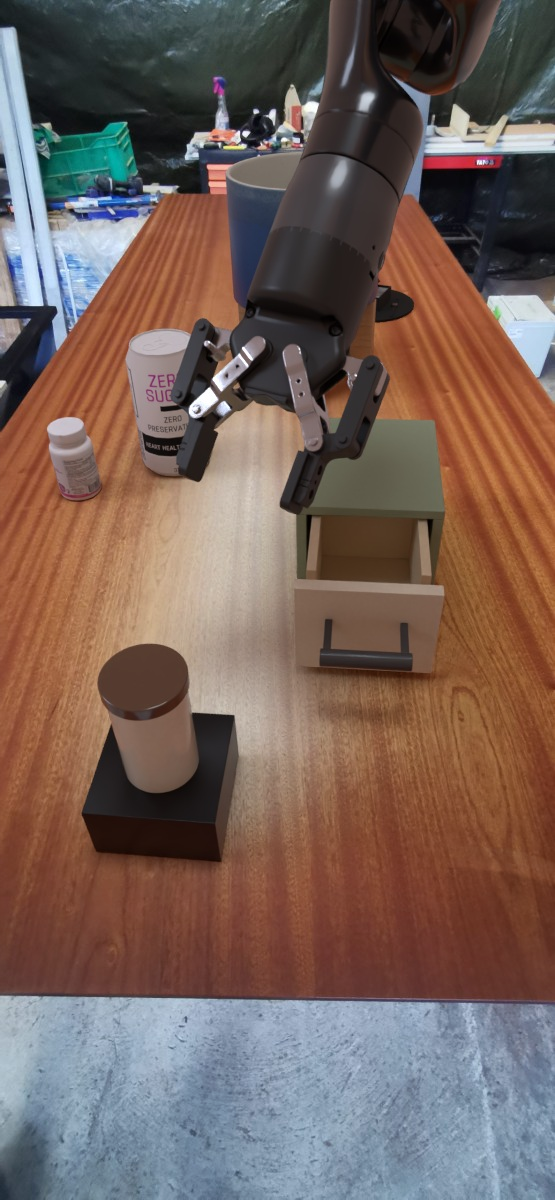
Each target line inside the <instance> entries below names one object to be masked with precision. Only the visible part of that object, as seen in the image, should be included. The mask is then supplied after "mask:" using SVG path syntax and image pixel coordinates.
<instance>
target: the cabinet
mask: <svg viewBox="0 0 555 1200" xmlns="http://www.w3.org/2000/svg"><path fill="white" fill-rule="evenodd" d="M329 418H330V431H331V433H336V430H337V428H338V425H339V422H340V420H341V417H329ZM303 445H304V444H303ZM304 448H305V445H304V446H303V449H304ZM441 470H442V469H441V462H440V453H439V446H438V435H437V428H436V420H434V419H405V418H404V419H401V418H400V419H397V418H376V419H375V421H374V424H373V427H372V429H371V432H370V435H369V437H368V440H367V443H366V445H365V448H364V451H363V453H362V455H361V457H360V458H358V459H356V460H350V459H348V458H340V459H334V460H332V461H330V462H329V463H328V464H327V466H326V468H325V471H324V473H323V476H322V479H321V482H320V484H319V487H318V490H317V493H316V495H315V498H314V501H313V503H312V504H311V505H310V506H309V508H308V509H307V508H304V507H303V509H302V511H301V513H300V514H299V515H295V532H296V534H295V537H296V538H295V539H296V541H295V543H296V545H295V546H296V548H295V549H296V579H306V568H307V559H308V550H309V541H310V532H311V522H312V515H337V516H364V517H392V518H419V519H427V525H428V537H429V549H430V561H431V572H432V577H431V584H430V585H435V581H436V575H437V568H438V562H439V557H440V556H439V555H440V549H441V542H442V536H443V530H444V524H445V516H446V506H445V504H446V503H445V497H444V488H443V479H442V472H441Z"/></svg>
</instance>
